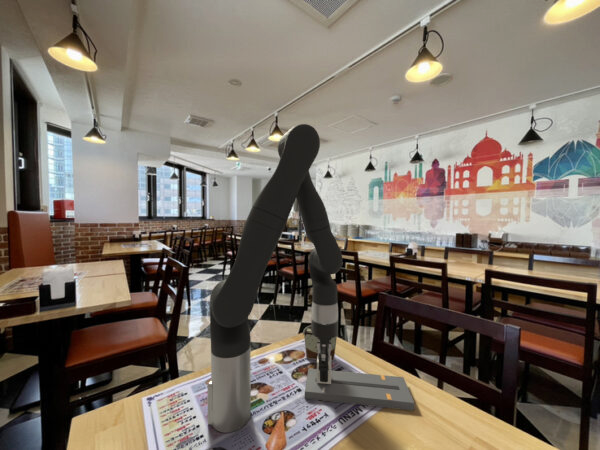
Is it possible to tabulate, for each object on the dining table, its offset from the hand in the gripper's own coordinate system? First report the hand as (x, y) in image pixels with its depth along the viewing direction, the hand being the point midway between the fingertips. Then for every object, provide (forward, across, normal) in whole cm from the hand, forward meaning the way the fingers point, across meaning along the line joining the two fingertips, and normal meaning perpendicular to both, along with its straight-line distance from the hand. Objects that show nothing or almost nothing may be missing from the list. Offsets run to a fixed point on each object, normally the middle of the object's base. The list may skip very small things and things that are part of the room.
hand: (324, 376), depth 70 cm
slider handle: (+1, 0, 0) cm, 1 cm away
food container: (+4, -16, -2) cm, 17 cm away
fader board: (+3, 0, +9) cm, 10 cm away
